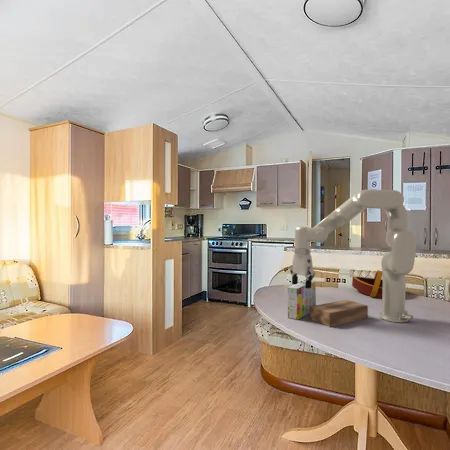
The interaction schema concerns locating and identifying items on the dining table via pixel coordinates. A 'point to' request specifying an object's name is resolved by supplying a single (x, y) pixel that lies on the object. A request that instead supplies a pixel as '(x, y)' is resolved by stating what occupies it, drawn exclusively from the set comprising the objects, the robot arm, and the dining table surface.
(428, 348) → the dining table surface
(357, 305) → the walnut riser
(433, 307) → the dining table surface
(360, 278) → the decorative basket
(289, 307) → the snack box
